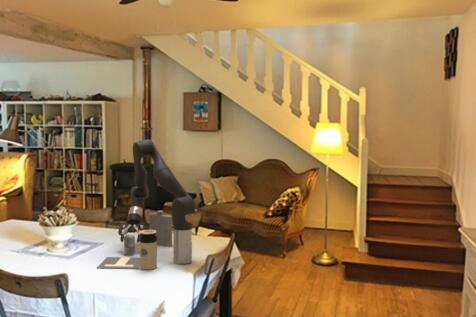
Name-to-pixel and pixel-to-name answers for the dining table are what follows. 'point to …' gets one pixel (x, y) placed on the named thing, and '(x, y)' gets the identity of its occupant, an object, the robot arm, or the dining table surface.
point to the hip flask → (161, 227)
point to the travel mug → (148, 250)
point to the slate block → (129, 245)
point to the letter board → (120, 263)
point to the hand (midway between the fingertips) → (129, 241)
